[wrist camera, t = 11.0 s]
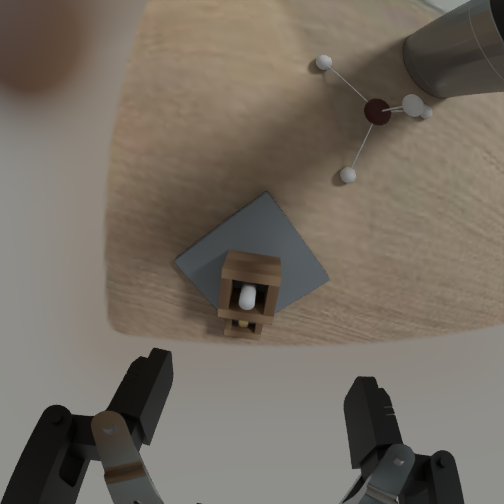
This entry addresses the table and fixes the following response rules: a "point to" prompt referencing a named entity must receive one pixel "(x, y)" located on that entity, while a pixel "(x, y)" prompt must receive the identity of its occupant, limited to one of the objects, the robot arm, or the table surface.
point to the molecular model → (377, 112)
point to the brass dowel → (243, 323)
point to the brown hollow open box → (259, 272)
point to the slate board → (259, 242)
